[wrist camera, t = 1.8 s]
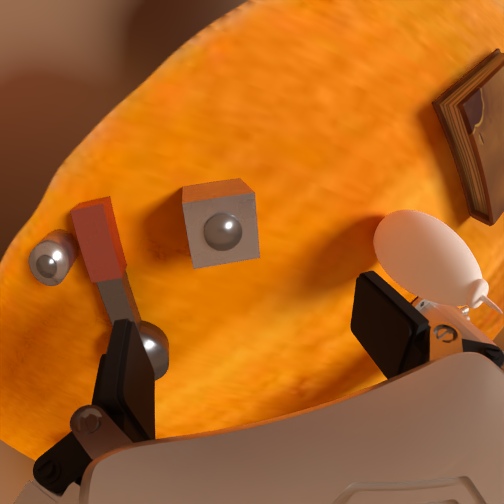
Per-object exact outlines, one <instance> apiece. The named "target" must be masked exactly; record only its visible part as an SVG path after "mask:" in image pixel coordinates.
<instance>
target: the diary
mask: <svg viewBox="0 0 504 504" xmlns="http://www.w3.org/2000/svg"><path fill="white" fill-rule="evenodd" d="M432 104H433V107H434V109H435V111H436V113H437V116H438V118H439V120H440V123H441V125H442V128H443V130H444V133H445V135H446V138H447V141H448V143H449V146H450V149H451V152H452V155H453V157H454V160H455V163H456V167H457V170H458V173H459V176H460V179H461V183H462V186H463V190H464V194H465V197H466V201H467V205H468V209H469V213H470V215H471V216H472V217H473V218H475V219H477V220H479V221H481V222H483V223H485V224H487V225H489V226H492V225H494V224H495V222H496V221H497V220H498V218H499V217H500V216H501V214H502V213H503V212H504V53H501V52H500V49H496V50H495V51H494V52H493V53H491V54H490V55H489V56H488V57H487V58H485V59H484V60H483V61H482V62H480V63H479V64H478V65H477V66H476V67H474V68H473V69H472V70H471V71H470V72H468V73H467V74H466V75H465V76H464V77H462V78H461V79H460V80H459V81H457V82H456V83H455V84H454V85H453V86H451V87H450V88H449V89H448V90H447V91H445V92H444V93H443V94H442V95H441V96H439V97H438V98H437V99H436V100H435V101H433V102H432Z"/></svg>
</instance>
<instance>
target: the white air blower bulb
mask: <svg viewBox="0 0 504 504" xmlns="http://www.w3.org/2000/svg"><path fill="white" fill-rule="evenodd" d="M373 244H374V250H375V253H376V256H377V258H378V261H379V263H380V264H381V266H382V267H383V269H384V270H385V271H386V273H387V274H388V275H389V276H390V277H391V278H392V279H393V280H394V281H395V282H396V283H398V284H399V285H400V286H401V287H403V288H404V289H405V290H407V291H408V292H410V293H412V294H414V295H416V296H418V297H420V298H422V299H425V300H427V301H430V302H433V303H437V304H442V305H448V306H464V305H468V306H469V307H470V308H477V307H478V306H480V305H481V303H482V302H484V303H486V304H487V305H488V306H490V307H491V308H493V309H494V310H496V311H497V312H499V313H502V311H501V310H500V309H499V308H498V307H497V306H496V305H495V304H494V303H493V302H492V301H491V300H489V299H488V298H487V297H486V295H487V293H488V283H487V282H486V281H485V280H484V279H482V274H481V271H480V268H479V265H478V263H477V261H476V259H475V257H474V256H473V254H472V252H471V251H470V249H469V248H468V246H467V245H466V244H465V243H464V241H463V240H462V239H461V238H460V237H459V236H458V235H457V234H456V233H455V232H454V231H453V230H452V229H451V228H450V227H448V226H447V225H446V224H445V223H443V222H442V221H440V220H438V219H437V218H435V217H433V216H431V215H428V214H426V213H423V212H420V211H415V210H400V211H395V212H392V213H390V214H388V215H387V216H386V217H384V218H383V219H382V221H381V222H380V223H379V225H378V227H377V228H376V231H375V234H374V239H373Z"/></svg>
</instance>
